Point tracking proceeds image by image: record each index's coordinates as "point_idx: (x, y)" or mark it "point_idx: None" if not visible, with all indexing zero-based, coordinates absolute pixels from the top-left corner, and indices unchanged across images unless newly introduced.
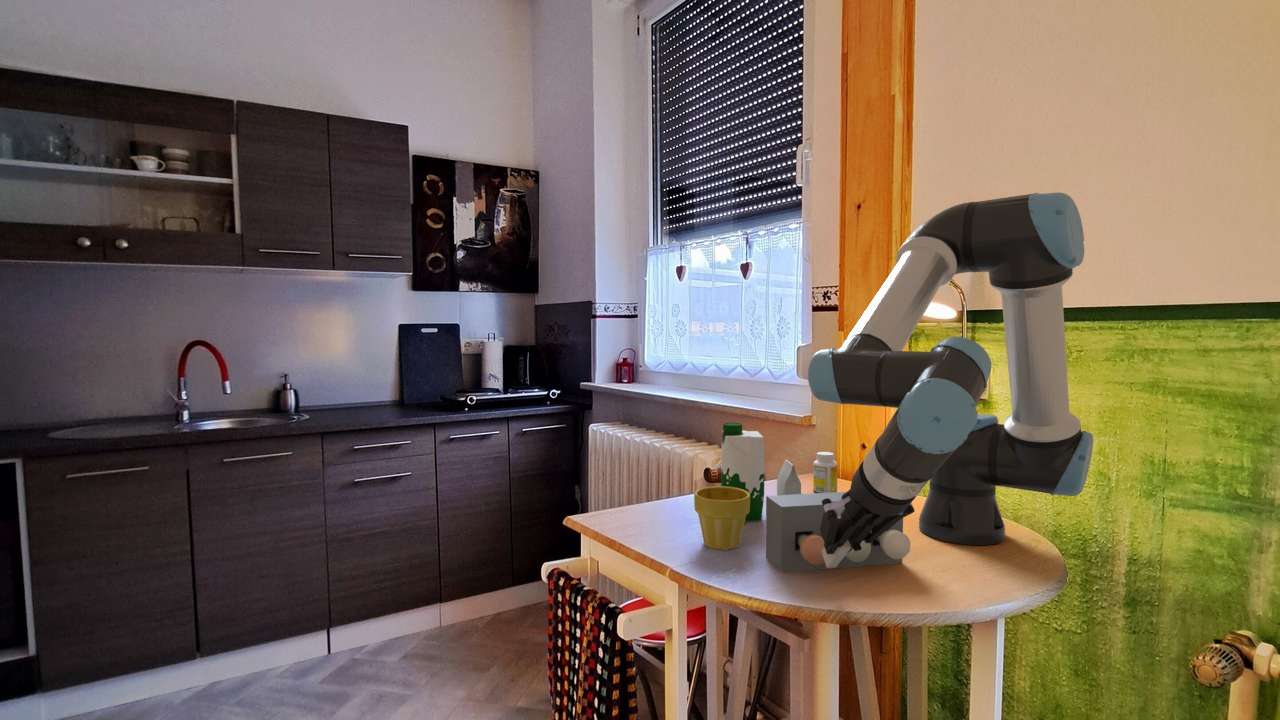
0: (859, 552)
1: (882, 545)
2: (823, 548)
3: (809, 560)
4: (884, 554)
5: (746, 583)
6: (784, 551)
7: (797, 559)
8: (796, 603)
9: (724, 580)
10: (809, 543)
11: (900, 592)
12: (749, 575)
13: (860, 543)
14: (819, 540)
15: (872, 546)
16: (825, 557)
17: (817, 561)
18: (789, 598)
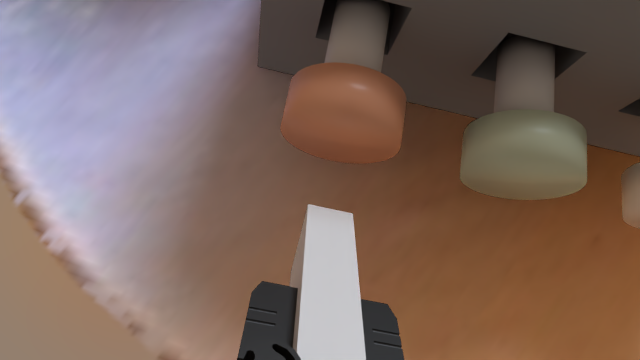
0: (516, 186)
1: (634, 184)
2: (306, 220)
3: (299, 144)
4: (635, 136)
5: (85, 93)
6: (272, 27)
7: (320, 58)
8: (136, 301)
9: (30, 44)
10: (307, 115)
11: (535, 357)
12: (140, 45)
13: (541, 176)
14: (359, 121)
15: (616, 111)
16: (298, 249)
17: (332, 155)
18: (141, 255)
